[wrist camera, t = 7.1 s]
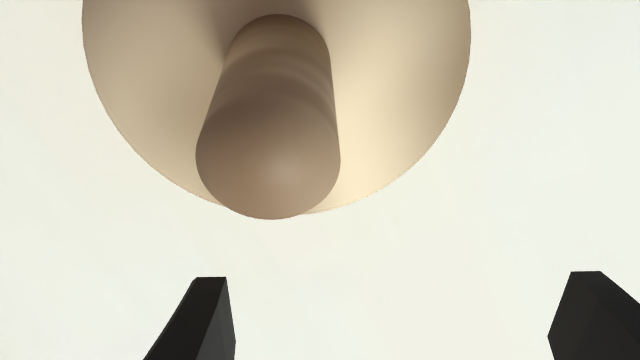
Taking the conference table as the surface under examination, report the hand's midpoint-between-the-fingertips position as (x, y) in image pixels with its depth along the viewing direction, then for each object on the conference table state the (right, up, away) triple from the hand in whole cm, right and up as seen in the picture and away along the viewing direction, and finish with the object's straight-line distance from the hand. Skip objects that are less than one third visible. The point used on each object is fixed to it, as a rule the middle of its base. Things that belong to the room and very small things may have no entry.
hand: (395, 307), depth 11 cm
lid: (-3, +6, +4) cm, 8 cm away
